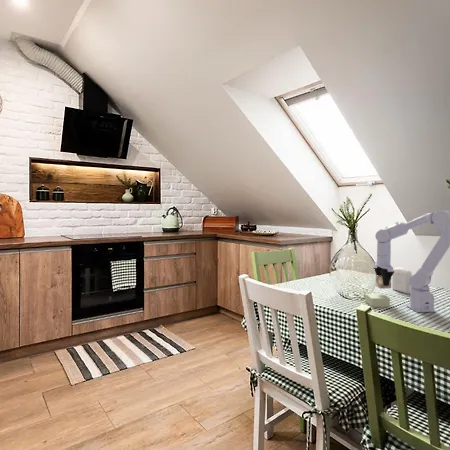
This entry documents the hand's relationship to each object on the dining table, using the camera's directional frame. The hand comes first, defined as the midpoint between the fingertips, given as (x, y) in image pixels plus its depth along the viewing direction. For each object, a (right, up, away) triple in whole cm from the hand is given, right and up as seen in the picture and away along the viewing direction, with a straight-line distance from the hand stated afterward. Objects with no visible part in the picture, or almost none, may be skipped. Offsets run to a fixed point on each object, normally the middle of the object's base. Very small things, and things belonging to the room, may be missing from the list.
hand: (383, 284), depth 163 cm
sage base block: (-4, -9, -3) cm, 10 cm away
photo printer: (+18, -7, +20) cm, 28 cm away
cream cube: (0, -1, 0) cm, 1 cm away
